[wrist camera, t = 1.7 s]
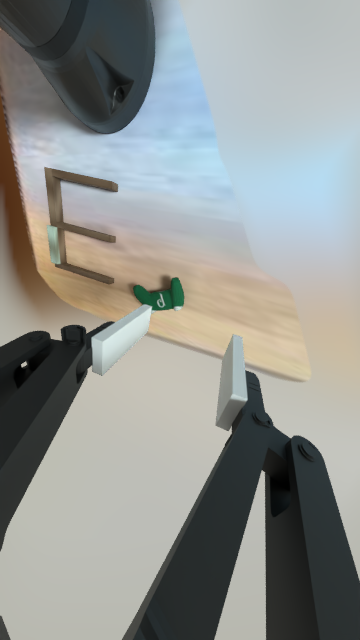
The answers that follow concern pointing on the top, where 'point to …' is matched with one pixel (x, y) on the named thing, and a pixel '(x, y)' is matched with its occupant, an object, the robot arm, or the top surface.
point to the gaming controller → (162, 297)
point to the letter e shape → (58, 225)
